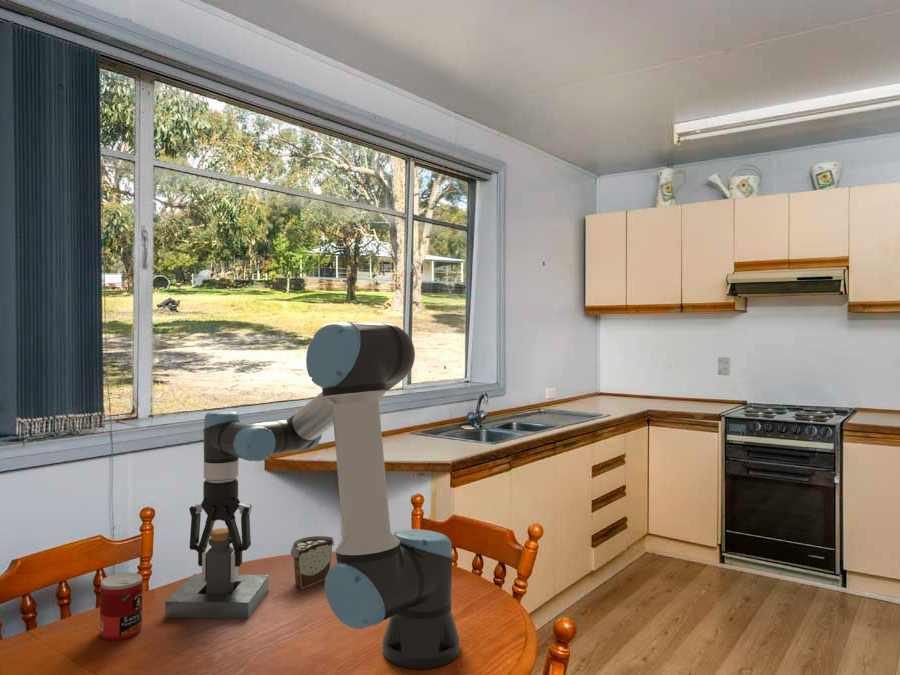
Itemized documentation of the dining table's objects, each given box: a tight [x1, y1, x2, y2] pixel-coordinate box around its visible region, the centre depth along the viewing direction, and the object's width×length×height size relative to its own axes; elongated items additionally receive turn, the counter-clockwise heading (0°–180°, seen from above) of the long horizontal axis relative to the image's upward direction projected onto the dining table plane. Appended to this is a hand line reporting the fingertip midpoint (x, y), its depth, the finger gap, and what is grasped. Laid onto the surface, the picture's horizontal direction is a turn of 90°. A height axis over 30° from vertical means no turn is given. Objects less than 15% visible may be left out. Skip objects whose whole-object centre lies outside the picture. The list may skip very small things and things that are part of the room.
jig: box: [164, 573, 270, 620], centre depth 149 cm, size 16×18×4 cm
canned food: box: [99, 572, 143, 641], centre depth 134 cm, size 8×8×11 cm
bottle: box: [206, 527, 234, 594], centre depth 149 cm, size 6×6×15 cm
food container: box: [290, 535, 335, 590], centre depth 163 cm, size 12×6×10 cm, turn 144°
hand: (220, 579), depth 149 cm, fingers closed on bottle, 6 cm apart
